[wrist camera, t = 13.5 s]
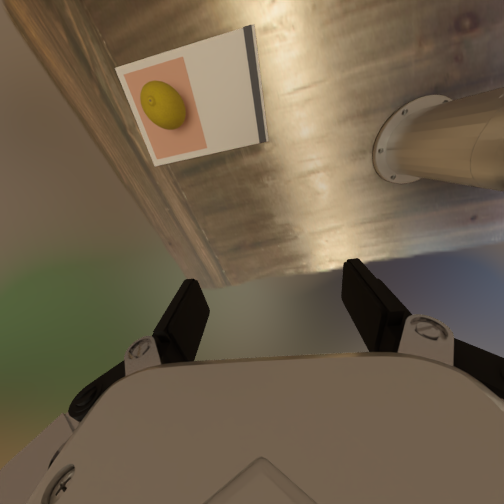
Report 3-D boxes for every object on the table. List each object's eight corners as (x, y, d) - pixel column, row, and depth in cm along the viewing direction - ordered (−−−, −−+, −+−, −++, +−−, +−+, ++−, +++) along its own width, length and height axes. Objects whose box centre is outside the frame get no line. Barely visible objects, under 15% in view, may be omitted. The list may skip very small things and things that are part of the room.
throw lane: (254, 25, 25) (254, 23, 25) (268, 141, 32) (268, 141, 31) (116, 68, 28) (114, 67, 28) (155, 166, 35) (154, 166, 34)
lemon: (165, 133, 32) (137, 128, 25) (155, 92, 29) (120, 73, 22) (195, 130, 31) (176, 124, 24) (188, 88, 28) (164, 68, 21)
